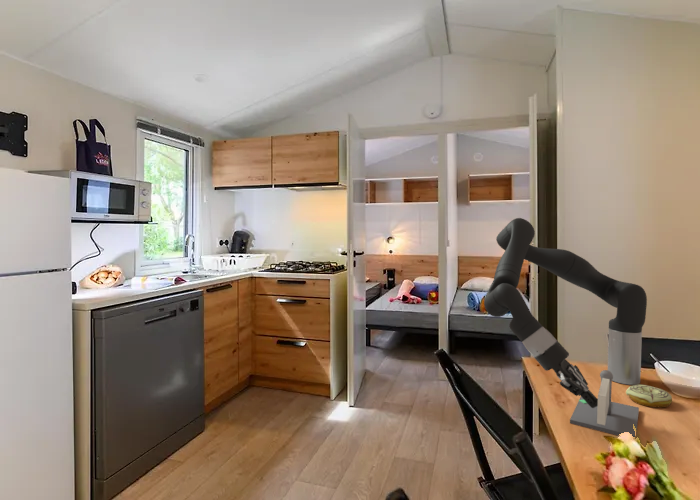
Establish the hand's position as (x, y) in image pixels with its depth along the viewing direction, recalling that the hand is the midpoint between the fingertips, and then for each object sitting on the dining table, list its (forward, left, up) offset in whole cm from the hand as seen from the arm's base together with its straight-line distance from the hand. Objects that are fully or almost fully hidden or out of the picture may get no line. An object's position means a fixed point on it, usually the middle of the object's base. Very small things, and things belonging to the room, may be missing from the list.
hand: (596, 405), depth 99 cm
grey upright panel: (-8, +1, -5) cm, 9 cm away
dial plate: (-11, +1, -7) cm, 13 cm away
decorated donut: (-31, +10, -7) cm, 33 cm away
